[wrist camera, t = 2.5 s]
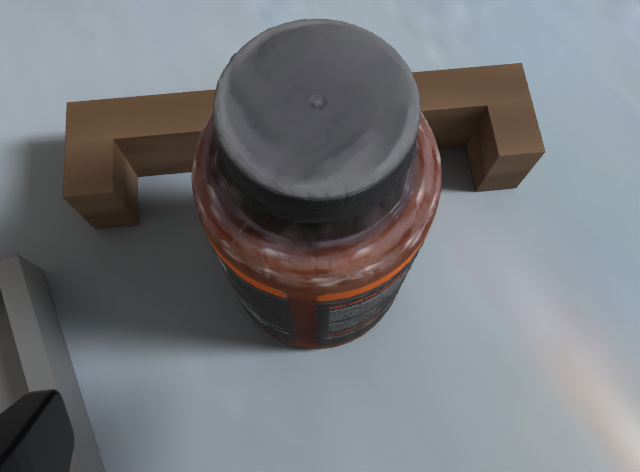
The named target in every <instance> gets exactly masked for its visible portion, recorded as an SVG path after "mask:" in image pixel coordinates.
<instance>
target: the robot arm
mask: <svg viewBox="0 0 640 472" xmlns="http://www.w3.org/2000/svg"><path fill="white" fill-rule="evenodd" d="M74 443H75V436H74V431H73V427H72V424H71V421H70V418H69V415H68V412H67V409H66V406H65V403H64V400H63V397H62V395H61V394H60V392H59V391H57V390H55V389H50V390H40V391H32V392H28V393H26V394H25V395H23V396H22V397H21V398H20V399H18V400H17V401H16V402H14V403H13V404H12V405H11V406H9V407H8V408H7V409H5V410H4V411H3V412H1V413H0V472H69V471H70V466H71V461H72V456H73V451H74Z"/></svg>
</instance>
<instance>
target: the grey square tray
mask: <svg viewBox="0 0 640 472" xmlns="http://www.w3.org/2000/svg"><path fill="white" fill-rule="evenodd" d="M50 389H55V390H57V391H59V392H60V394H61V395H62V397H63V400H64V403H65V406H66V409H67V412H68V415H69V418H70V421H71V424H72V427H73V431H74V436H75V443H74V451H73V456H72V461H71V466H70V471H69V472H105V470H104V467H103V464H102V460H101V457H100V454H99V451H98V447H97V444H96V441H95V438H94V434H93V431H92V428H91V425H90V421H89V418H88V415H87V412H86V408H85V405H84V402H83V399H82V395H81V392H80V389H79V386H78V382H77V379H76V376H75V373H74V369H73V366H72V363H71V360H70V356H69V353H68V350H67V347H66V343H65V340H64V337H63V334H62V330H61V327H60V324H59V321H58V317H57V314H56V311H55V308H54V304H53V301H52V298H51V295H50V291H49V288H48V285H47V281H46V278H45V275H44V272H43V270H41V269H40V268H38V267H37V266H35V265H33V264H32V263H30V262H29V261H27V260H26V259H24V258H22V257H21V256H19V255H18V254H16V255H14V256H11V257H9V258H6V259H4V260H1V261H0V413H1V412H3V411H4V410H5V409H7V408H8V407H9V406H11V405H12V404H13V403H14V402H16V401H17V400H18V399H20V398H21V397H22V396H23V395H25V394H26V393H28V392H32V391H40V390H50Z"/></svg>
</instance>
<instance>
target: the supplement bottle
mask: <svg viewBox="0 0 640 472" xmlns="http://www.w3.org/2000/svg"><path fill="white" fill-rule="evenodd" d="M192 188H193V195H194V201H195V204H196V208H197V212H198V215H199V218H200V221H201V224H202V226H203V228H204V230H205V232H206V234H207V237H208V239H209V241H210V243H211V245H212V247H213V249H214V251H215V252H216V254H217V256H218V258H219V260H220V263H221V264H222V266H223V269H224V271H225V273H226V274H227V276H228V278H229V280H230V281H231V283H232V285H233V287H234V289H235V291H236V293H237V295H238V297H239V299H240V301H241V302H242V304H243V306H244V308H245V309H246V311H247V312H248V313H249V315H250V316H251V317H252V318H253V320H254V321H255V322H256V323H257V324H258V325H259V326H260V327H262V328H263V329H264V330H265V331H266V332H267V333H269V334H270V335H272V336H273V337H275V338H277V339H279V340H281V341H283V342H286V343H289V344H291V345H295V346H299V347H304V348H314V349H325V348H333V347H336V346H340V345H343V344H346V343H348V342H351V341H353V340H355V339H357V338H359V337H361V336H362V335H364V334H365V333H366V332H368V331H369V330H370V329H371V328H373V327H374V326H375V325H376V324H377V323H378V322H379V321H380V320H381V319H382V317H383V316H384V315H385V313H386V312H387V311H388V310H389V308H390V306H391V305H392V303H393V301H394V299H395V297H396V295H397V293H398V291H399V289H400V287H401V285H402V283H403V281H404V279H405V277H406V275H407V273H408V271H409V270H410V268H411V265H412V263H413V261H414V259H415V258H416V256H417V254H418V252H419V249H420V248H421V246H422V245H423V243H424V240H425V238H426V236H427V233H428V231H429V229H430V227H431V224H432V222H433V219H434V216H435V213H436V210H437V206H438V202H439V197H440V192H441V158H440V154H439V150H438V147H437V143H436V140H435V138H434V134H433V132H432V130H431V128H430V127H429V124H428V122H427V120H426V119H425V117H424V115H423V113H422V112H421V102H420V95H419V91H418V87H417V83H416V81H415V79H414V77H413V75H412V72H411V70H410V68H409V67H408V65H407V64H406V63H405V61H404V60H403V59H402V57H401V56H400V55H399V54H398V53H397V51H396V50H395V49H394V48H393V47H392V46H390V45H389V44H388V43H387V42H385V41H384V40H383V39H382V38H380V37H378V36H376V35H375V34H373V33H372V32H370V31H368V30H366V29H363V28H361V27H358V26H356V25H353V24H349V23H346V22H343V21H336V20H329V19H311V20H306V19H301V20H297V21H292V22H289V23H284V24H281V25H279V26H276V27H272V28H269V29H267V30H266V31H264V32H262V33H260V34H259V35H258V36H256V37H254V38H253V39H252V40H250V41H249V42H248V43H247V44H245V45H244V46H243V47H242V48H241V49H240V50H239V51H238V52H237V53H235V54H234V55H233V56H232V57H231V59H230V62H229V63H228V64H227V66H226V67H225V69H224V70H223V72H222V74H221V76H220V78H219V80H218V82H217V87H216V91H215V95H214V101H213V113H212V115H211V116H210V117H209V118H208V120H207V121H206V124H205V126H204V128H203V129H202V131H201V134H200V137H199V140H198V143H197V146H196V150H195V154H194V158H193V165H192Z"/></svg>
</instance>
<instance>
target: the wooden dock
mask: <svg viewBox="0 0 640 472" xmlns="http://www.w3.org/2000/svg"><path fill="white" fill-rule="evenodd" d="M412 75H413V77H414V79H415V81H416V83H417V87H418V91H419V95H420V102H421V112H422V113H423V115H424V117H425V119H426V120H427V122H428V124H429V127H430V128H431V130H432V132H433V134H434V138H435V140H436V143H437V147H438V149H440V148H450V147H461V146H466V147H467V152H468V157H469V161H470V166H471V171H472V175H473V180H474V184H475V189H476V192H479V191H489V190H499V189H509V188H517V186H518V185H519V184H520V183H521V181H522V180H523V179H524V178H525V176H526V175H527V174H528V173H529V171H530V170H531V169H532V168H533V166H534V165H535V164H536V163H537V161H538V160H539V159H540V158H541V157H542V155H543V154H544V153H545V148H544V145H543V141H542V137H541V133H540V130H539V126H538V122H537V118H536V115H535V111H534V107H533V103H532V100H531V96H530V92H529V88H528V85H527V81H526V77H525V73H524V69H523V66H522V63H516V64H505V65H493V66H481V67H470V68H458V69H447V70H435V71H424V72H412ZM215 91H216V90H205V91H194V92H182V93H171V94H159V95H148V96H136V97H125V98H113V99H101V100H90V101H78V102H67V109H66V136H65V162H64V188H63V198H64V199H65V200H66V201H67V202H68V203H69V204H70V205H71V206H72V207H73V208H75V209H76V210H77V211H78V212H79V213H80V214H81V215H82V216H83V217H84V218H85V219H86V220H87V221H88V222H89V223H90V224H91V225H92V226H93V227H94V228H95V229H99V228H109V227H119V226H129V225H138V177H140V176H151V175H161V174H172V173H183V172H192V165H193V158H194V154H195V150H196V146H197V143H198V140H199V137H200V134H201V131H202V129H203V128H204V126H205V124H206V121H207V120H208V118H209V117H210V116H211V115H212V113H213V101H214V95H215Z"/></svg>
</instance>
